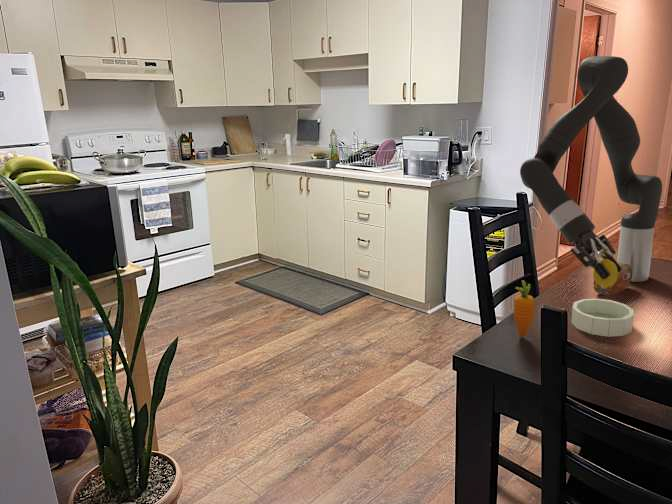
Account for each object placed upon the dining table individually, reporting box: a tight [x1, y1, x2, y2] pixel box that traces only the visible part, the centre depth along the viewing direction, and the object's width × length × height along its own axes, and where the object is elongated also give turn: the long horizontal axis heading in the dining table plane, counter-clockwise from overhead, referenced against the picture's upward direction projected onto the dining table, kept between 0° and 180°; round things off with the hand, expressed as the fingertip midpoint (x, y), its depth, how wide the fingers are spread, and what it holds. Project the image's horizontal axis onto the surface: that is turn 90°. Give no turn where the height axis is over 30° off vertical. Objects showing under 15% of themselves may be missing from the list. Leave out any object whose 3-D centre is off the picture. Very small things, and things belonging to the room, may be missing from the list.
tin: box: [593, 263, 632, 297], centre depth 154 cm, size 15×3×8 cm, turn 117°
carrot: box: [513, 280, 536, 339], centre depth 126 cm, size 5×5×15 cm
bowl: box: [570, 298, 635, 338], centre depth 133 cm, size 14×14×4 cm
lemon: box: [592, 259, 618, 289], centre depth 129 cm, size 6×6×8 cm
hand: (612, 274), depth 128 cm, fingers closed on lemon, 5 cm apart
